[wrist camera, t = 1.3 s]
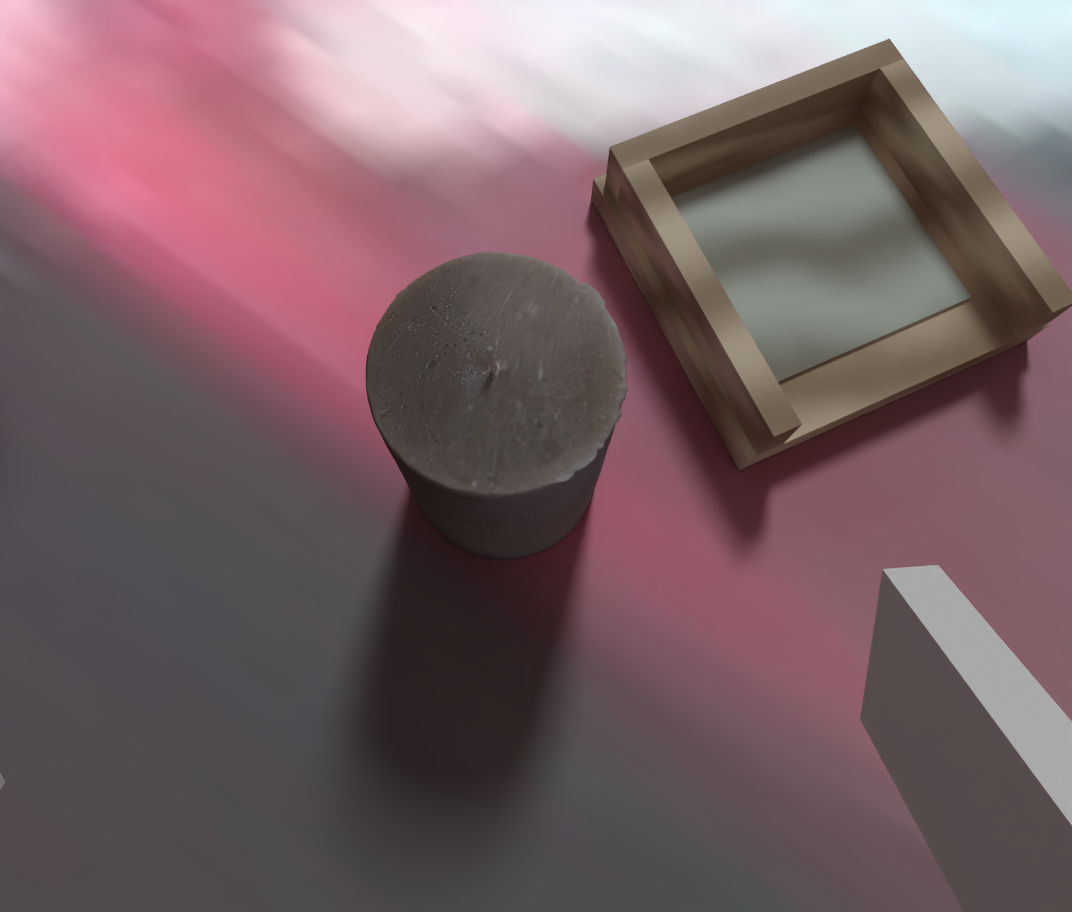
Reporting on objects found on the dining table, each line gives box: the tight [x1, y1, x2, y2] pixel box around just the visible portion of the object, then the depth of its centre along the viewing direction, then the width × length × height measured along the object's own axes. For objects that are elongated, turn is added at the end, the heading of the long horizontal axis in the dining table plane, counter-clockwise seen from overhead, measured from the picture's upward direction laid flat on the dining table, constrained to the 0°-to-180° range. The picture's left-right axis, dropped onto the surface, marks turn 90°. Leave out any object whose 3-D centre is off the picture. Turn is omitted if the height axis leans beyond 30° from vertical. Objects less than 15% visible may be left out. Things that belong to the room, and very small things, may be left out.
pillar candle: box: [366, 252, 627, 559], centre depth 35 cm, size 10×10×15 cm
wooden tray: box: [591, 39, 1072, 470], centre depth 43 cm, size 18×18×5 cm
